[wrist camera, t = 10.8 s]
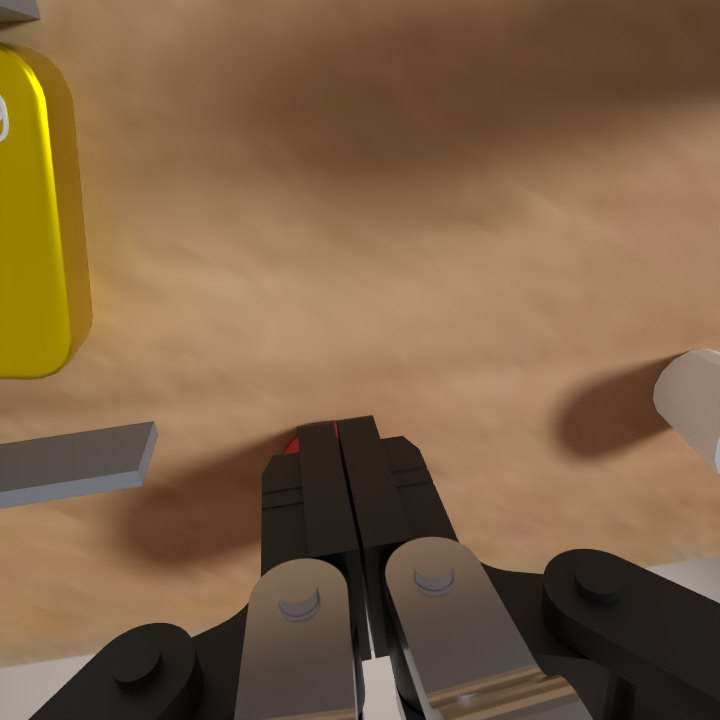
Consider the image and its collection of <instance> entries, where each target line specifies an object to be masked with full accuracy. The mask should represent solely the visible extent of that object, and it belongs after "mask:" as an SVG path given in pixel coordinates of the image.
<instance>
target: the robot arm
mask: <svg viewBox="0 0 720 720" xmlns="http://www.w3.org/2000/svg"><path fill="white" fill-rule="evenodd" d="M336 426H337V435H338V442H337V437H336V432H335V427H334V422H333V421H331V422H324V423H318V424H311V425H304V426H298V427H297V433H298V444H299V452H296V453H289V454H283V455H277V456H273V457H272V459H271V461H270V462H269V464H268V465H267V467H266V469H265V470H264V472H263V474H262V536H261V578H260V580H259V581H258V582H257V583H256V585H255V586H254V588H253V590H252V592H251V595H250V599H249V603H248V604H247V605H246V606H245V607H244V608H243V609H242V610H241V611H240V612H238V613H237V614H236V615H235V616H233V617H232V618H230V619H229V620H227V621H225V622H223V623H222V624H220V625H218V626H216V627H213V628H211V629H209V630H207V631H205V632H203V633H201V634H199V635H196V636H194V637H192V638H191V637H190V635H189V634H188V633H187V632H186V631H185V630H183V629H182V628H180V627H178V626H176V625H173V624H168V623H152V624H146V625H142V626H139V627H136V628H134V629H131V630H129V631H127V632H125V633H123V634H121V635H120V636H118V637H117V638H115V639H114V640H112V641H111V642H110V643H109V644H107V645H106V646H105V647H104V648H103V649H102V650H101V651H100V652H99V653H98V654H96V655H95V657H93V658H92V659H91V660H90V661H89V662H88V663H87V664H86V665H85V666H84V667H83V668H82V669H81V670H80V671H79V672H78V673H77V674H76V675H75V676H73V677H72V679H70V680H69V681H68V682H67V683H66V684H65V685H64V686H63V687H62V688H61V689H60V690H59V691H58V692H57V693H56V694H55V695H54V696H53V697H52V698H50V699H49V701H47V702H46V703H45V704H44V705H43V706H42V707H41V708H40V709H39V710H38V711H37V712H36V713H35V714H34V715H33V716H32V717H31V718H30V719H29V720H364V712H363V705H364V702H365V685H364V677H363V669H362V661H364V660H370V659H371V649H370V640H369V632H368V623H367V615H368V621H369V626H370V631H371V636H372V641H373V647H374V652H375V657H376V658H379V657H384V656H389V655H390V660H391V664H392V669H393V674H394V678H395V688H396V700H397V705H398V709H399V712H400V716H401V719H402V720H720V603H718V602H716V601H714V600H711V599H709V598H707V597H705V596H703V595H701V594H698V593H696V592H694V591H692V590H690V589H687V588H685V587H683V586H681V585H679V584H677V583H674V582H672V581H670V580H668V579H666V578H663V577H661V576H659V575H657V574H655V573H653V572H650V571H648V570H646V569H644V568H642V567H640V566H637V565H635V564H633V563H631V562H629V561H627V560H624V559H622V558H620V557H618V556H615V555H613V554H610V553H607V552H603V551H600V550H593V549H574V550H570V551H566V552H563V553H561V554H559V555H557V556H556V557H554V558H553V559H552V560H551V561H550V562H549V563H548V565H547V566H546V568H545V571H544V574H535V573H523V572H512V571H505V570H501V569H497V568H493V567H491V566H488V565H485V564H484V563H482V562H480V561H479V560H478V558H477V557H476V555H475V554H474V553H473V552H472V551H471V550H470V549H468V548H467V547H466V546H464V545H462V544H460V543H459V541H458V539H457V537H456V534H455V532H454V530H453V527H452V525H451V523H450V520H449V518H448V515H447V513H446V511H445V508H444V506H443V504H442V501H441V499H440V497H439V494H438V492H437V490H436V487H435V485H433V480H432V478H431V476H430V473H429V471H428V470H427V466H426V464H425V461H424V459H423V457H422V454H421V452H420V450H419V448H417V447H416V446H415V445H413V444H412V443H411V442H410V441H408V440H407V439H406V438H405V437H403V436H398V437H392V438H385V439H380V436H379V433H378V430H377V427H376V424H375V421H374V418H373V416H372V415H370V416H363V417H356V418H350V419H343V420H337V421H336ZM338 443H339V447H338ZM339 451H340V452H339ZM366 610H367V614H366Z"/></svg>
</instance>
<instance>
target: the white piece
mask: <svg viewBox="0 0 720 720" xmlns="http://www.w3.org/2000/svg"><path fill="white" fill-rule="evenodd" d="M653 402H654V405H655V407H656V410H657V412H658V413H659V414H660V415H661V416H662V417H663V418H664V419H665V420H666V421H667V422H668V423H669V424H670V425H671V426H672V427H673V428H674V429H675V430H676V431H677V432H678V433H679V434H680V435H681V436H682V437H683V439H684V440H685V441H686V442H687V443H688V444H689V445H690V446H691V447H692V448H693V449H694V450H695V451H696V452H697V453H698V454H699V455H700V456H701V457H702V458H703V459H704V460H705V461H706V462H707V463H708V464H709V465H710V466H711V467H712V468H713V469H714V470H715V471H716V472H717V473H718V474H719V475H720V352H717V351H713V350H709V349H705V348H704V349H699V350H693V351H689V352H687V353H685V354H683V355H681V356H679V357H677V358H676V359H674V360H673V361H672V362H671V363H670V364H669V365H668V366H667V367H666V368H665V369H664V370H663V371H662V372H661V374H660V376H659V378H658V380H657V382H656V384H655V386H654V394H653Z"/></svg>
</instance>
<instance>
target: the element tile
mask: <svg viewBox="0 0 720 720" xmlns="http://www.w3.org/2000/svg"><path fill="white" fill-rule="evenodd" d="M92 317H93V314H92V303H91V292H90V281H89V271H88V260H87V249H86V238H85V227H84V217H83V206H82V195H81V184H80V173H79V162H78V152H77V141H76V130H75V119H74V108H73V99H72V95H71V92H70V89H69V87H68V85H67V83H66V81H65V79H64V77H63V75H62V73H61V71H60V70H59V69H58V68H57V67H56V66H55V65H54V64H53V63H52V62H51V61H50V60H49V59H48V58H46V57H45V56H43V55H41V54H39V53H37V52H35V51H33V50H31V49H28V48H25V47H21V46H18V45H13V44H8V43H3V42H0V379H38V378H44V377H47V376H50V375H53V374H56V373H58V372H59V371H60V370H61V369H63V368H64V367H65V366H66V365H67V364H68V363H69V361H70V360H71V359H72V357H73V356H74V354H75V353H76V352H77V350H78V349H79V347H80V346H81V345H82V343H83V342H84V341H85V339H86V338H87V336H88V333H89V331H90V328H91V326H92Z"/></svg>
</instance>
